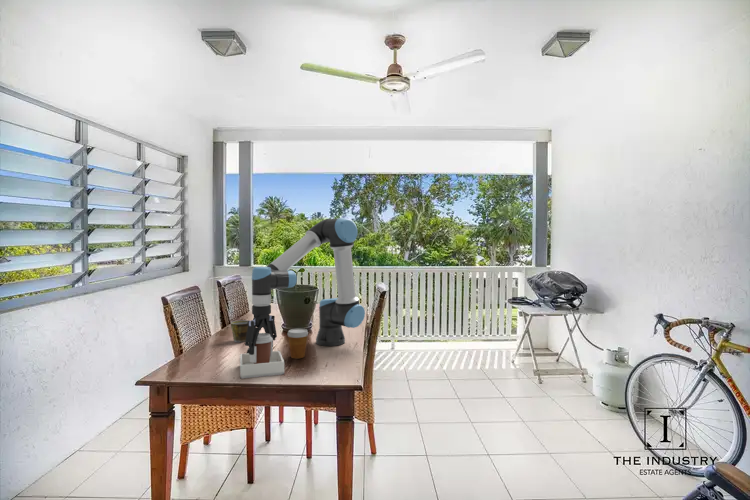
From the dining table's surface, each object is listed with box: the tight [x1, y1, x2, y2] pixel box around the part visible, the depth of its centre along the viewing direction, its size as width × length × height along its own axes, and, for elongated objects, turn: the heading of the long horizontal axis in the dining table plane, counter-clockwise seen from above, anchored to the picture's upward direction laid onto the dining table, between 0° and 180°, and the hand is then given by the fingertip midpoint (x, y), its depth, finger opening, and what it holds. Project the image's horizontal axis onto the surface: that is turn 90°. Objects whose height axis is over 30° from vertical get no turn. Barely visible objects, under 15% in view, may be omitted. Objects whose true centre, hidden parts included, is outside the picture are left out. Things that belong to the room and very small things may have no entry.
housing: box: [239, 350, 285, 379], centre depth 165 cm, size 17×17×5 cm
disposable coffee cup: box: [286, 328, 309, 360], centre depth 184 cm, size 10×10×12 cm
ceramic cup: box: [230, 319, 249, 343], centre depth 209 cm, size 13×10×10 cm
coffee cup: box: [253, 332, 274, 364], centre depth 165 cm, size 9×9×12 cm
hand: (261, 358), depth 165 cm, fingers closed on coffee cup, 9 cm apart
